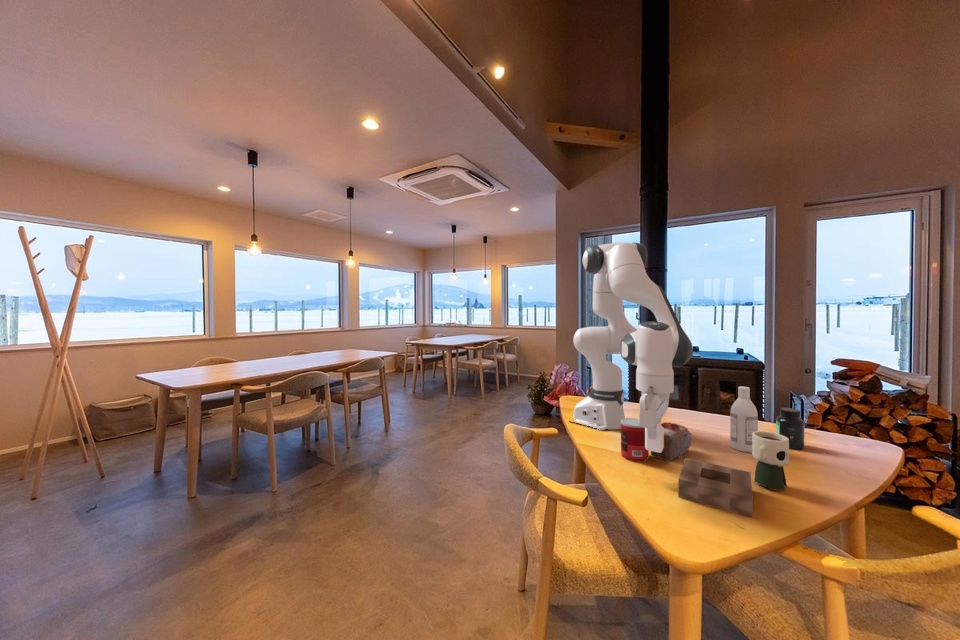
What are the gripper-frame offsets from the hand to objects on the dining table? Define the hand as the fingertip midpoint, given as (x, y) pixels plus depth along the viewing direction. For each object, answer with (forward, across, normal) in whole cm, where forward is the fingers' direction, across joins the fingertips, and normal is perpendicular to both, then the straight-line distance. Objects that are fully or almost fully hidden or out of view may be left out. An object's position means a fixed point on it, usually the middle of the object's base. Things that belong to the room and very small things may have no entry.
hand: (654, 434), depth 90 cm
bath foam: (+13, +38, -19) cm, 45 cm away
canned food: (+13, +12, +8) cm, 19 cm away
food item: (+13, +21, -1) cm, 25 cm away
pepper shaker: (+4, 0, 0) cm, 4 cm away
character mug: (+12, +13, -24) cm, 30 cm away
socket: (+12, +1, -13) cm, 18 cm away
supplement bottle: (+13, +49, -31) cm, 60 cm away
